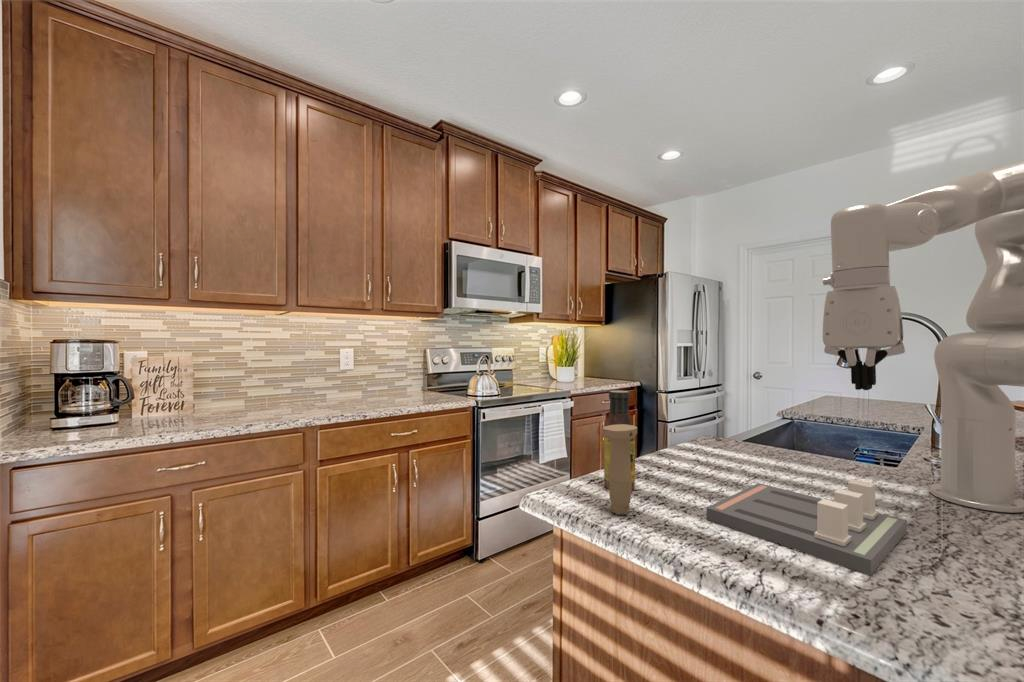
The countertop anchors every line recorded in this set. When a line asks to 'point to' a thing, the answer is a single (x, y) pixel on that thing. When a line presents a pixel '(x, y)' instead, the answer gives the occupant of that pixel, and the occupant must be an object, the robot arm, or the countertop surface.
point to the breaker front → (832, 522)
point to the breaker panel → (805, 526)
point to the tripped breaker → (852, 508)
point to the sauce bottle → (616, 416)
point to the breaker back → (865, 497)
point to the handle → (620, 466)
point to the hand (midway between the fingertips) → (863, 388)
